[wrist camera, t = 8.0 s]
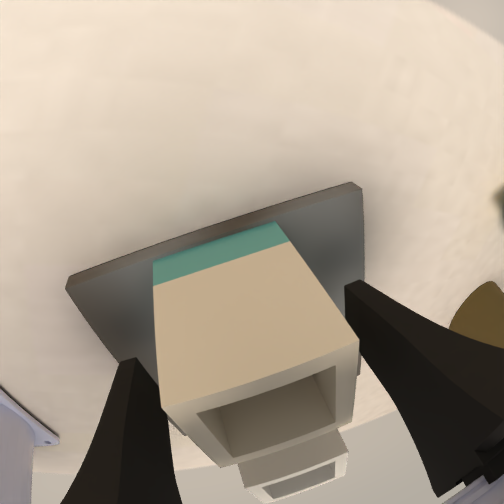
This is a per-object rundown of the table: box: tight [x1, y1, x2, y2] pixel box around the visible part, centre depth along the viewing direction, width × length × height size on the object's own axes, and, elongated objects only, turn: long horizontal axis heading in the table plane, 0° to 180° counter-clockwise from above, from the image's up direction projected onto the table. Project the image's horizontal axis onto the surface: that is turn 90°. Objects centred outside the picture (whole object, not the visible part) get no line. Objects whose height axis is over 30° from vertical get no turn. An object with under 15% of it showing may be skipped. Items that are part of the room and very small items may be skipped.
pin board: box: [65, 182, 364, 436], centre depth 14 cm, size 12×13×4 cm
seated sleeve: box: [238, 429, 348, 504], centre depth 15 cm, size 5×5×6 cm
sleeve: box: [153, 221, 359, 468], centre depth 10 cm, size 5×5×6 cm
